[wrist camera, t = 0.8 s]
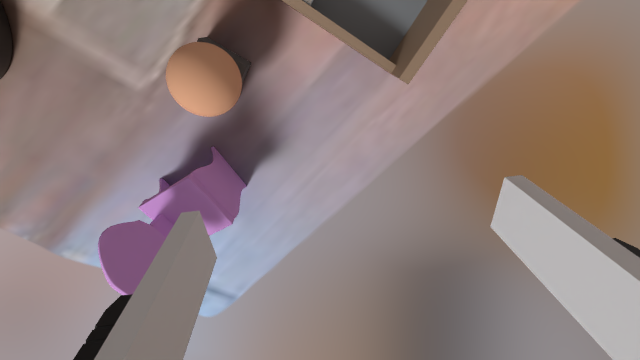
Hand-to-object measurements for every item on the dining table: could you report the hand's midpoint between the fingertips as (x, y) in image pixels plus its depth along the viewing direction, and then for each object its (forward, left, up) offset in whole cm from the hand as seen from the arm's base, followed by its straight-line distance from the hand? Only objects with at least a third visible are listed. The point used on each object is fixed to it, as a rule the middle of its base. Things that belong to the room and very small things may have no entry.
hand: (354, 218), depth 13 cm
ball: (-11, -3, -19) cm, 22 cm away
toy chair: (-8, -16, -21) cm, 27 cm away
